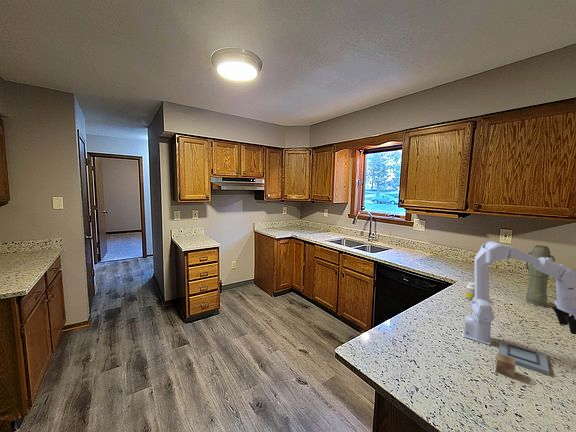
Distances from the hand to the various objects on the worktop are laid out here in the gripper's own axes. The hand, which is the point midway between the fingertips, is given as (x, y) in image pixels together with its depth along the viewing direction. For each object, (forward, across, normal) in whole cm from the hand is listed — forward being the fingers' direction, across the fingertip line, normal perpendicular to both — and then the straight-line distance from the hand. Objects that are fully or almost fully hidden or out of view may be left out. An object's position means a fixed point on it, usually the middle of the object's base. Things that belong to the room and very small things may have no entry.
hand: (569, 329), depth 104 cm
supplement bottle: (+8, +48, +24) cm, 54 cm away
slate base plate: (+7, -12, +20) cm, 24 cm away
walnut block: (+6, -25, +29) cm, 39 cm away
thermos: (+12, +57, -10) cm, 59 cm away
